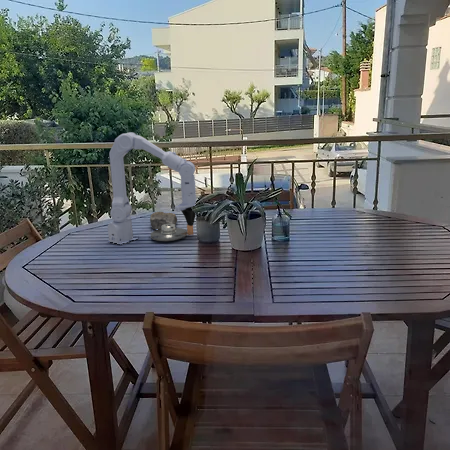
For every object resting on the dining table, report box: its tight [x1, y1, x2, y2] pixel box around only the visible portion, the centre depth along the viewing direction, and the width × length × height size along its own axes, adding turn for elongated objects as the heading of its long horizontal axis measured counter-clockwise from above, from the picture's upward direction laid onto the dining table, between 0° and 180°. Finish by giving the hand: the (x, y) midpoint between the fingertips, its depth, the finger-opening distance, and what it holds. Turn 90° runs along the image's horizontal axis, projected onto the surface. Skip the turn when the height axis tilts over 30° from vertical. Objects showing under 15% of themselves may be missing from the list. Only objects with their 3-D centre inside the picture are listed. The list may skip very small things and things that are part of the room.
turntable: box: [150, 224, 194, 242], centre depth 166 cm, size 15×18×4 cm
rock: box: [149, 211, 178, 230], centre depth 184 cm, size 13×6×15 cm
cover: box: [161, 224, 176, 235], centre depth 166 cm, size 6×6×3 cm
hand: (190, 225), depth 163 cm, fingers closed
